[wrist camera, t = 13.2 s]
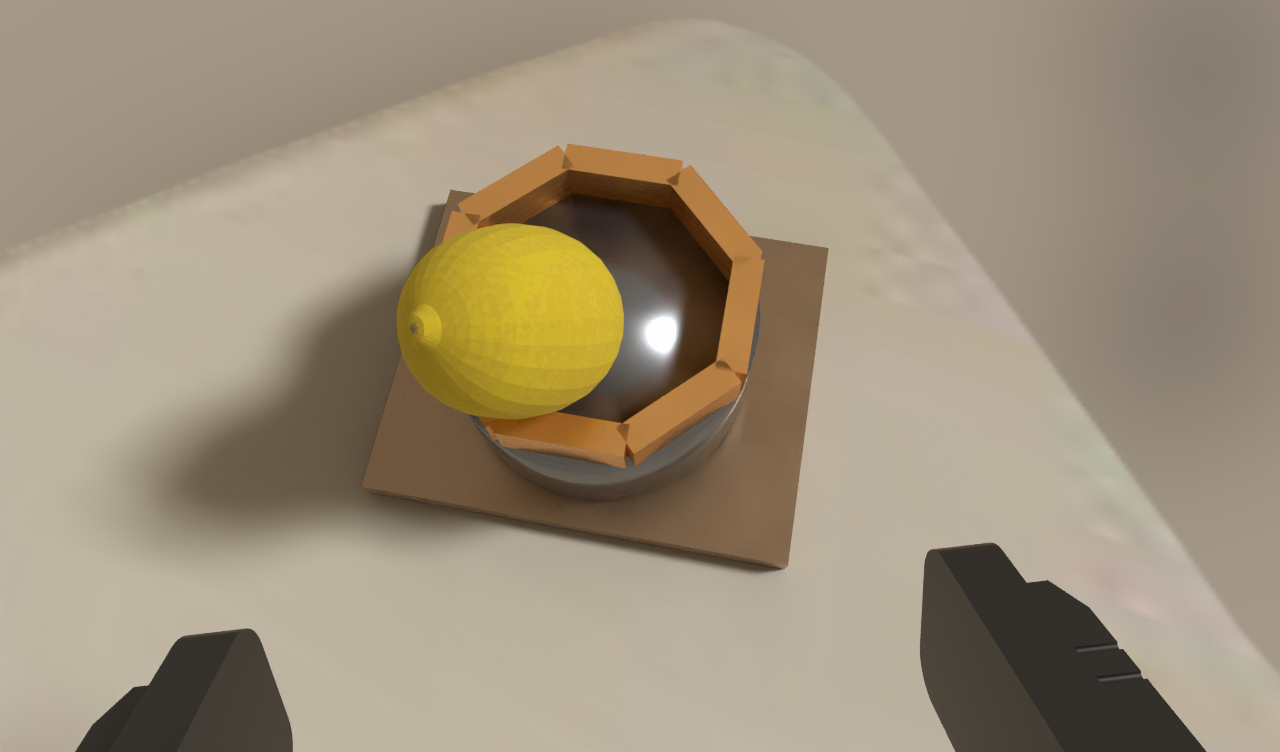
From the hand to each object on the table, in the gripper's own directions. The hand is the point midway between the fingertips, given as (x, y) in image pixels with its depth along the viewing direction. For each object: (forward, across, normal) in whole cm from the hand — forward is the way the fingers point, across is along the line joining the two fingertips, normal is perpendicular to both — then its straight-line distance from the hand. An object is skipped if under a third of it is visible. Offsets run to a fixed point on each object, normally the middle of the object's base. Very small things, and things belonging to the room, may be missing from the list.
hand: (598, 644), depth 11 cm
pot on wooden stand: (+24, 0, +7) cm, 25 cm away
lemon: (+18, 0, +3) cm, 19 cm away
